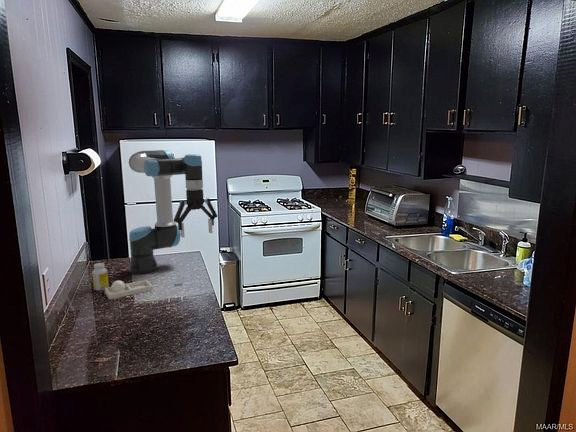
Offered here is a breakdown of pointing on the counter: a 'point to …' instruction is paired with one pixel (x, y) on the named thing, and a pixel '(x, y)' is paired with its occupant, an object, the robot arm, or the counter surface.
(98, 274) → the supplement bottle
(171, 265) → the counter surface
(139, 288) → the carrier
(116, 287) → the ivory egg
